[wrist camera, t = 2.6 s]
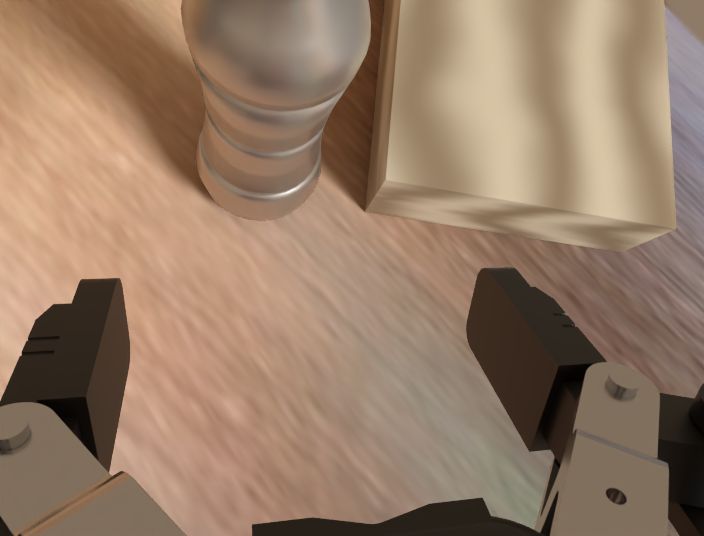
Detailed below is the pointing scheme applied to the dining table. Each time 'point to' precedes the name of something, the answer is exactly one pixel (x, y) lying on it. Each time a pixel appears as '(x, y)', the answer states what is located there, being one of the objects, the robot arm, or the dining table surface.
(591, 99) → the oak pedestal
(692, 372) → the dining table surface
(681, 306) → the dining table surface
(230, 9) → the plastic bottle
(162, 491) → the dining table surface
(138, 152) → the dining table surface
